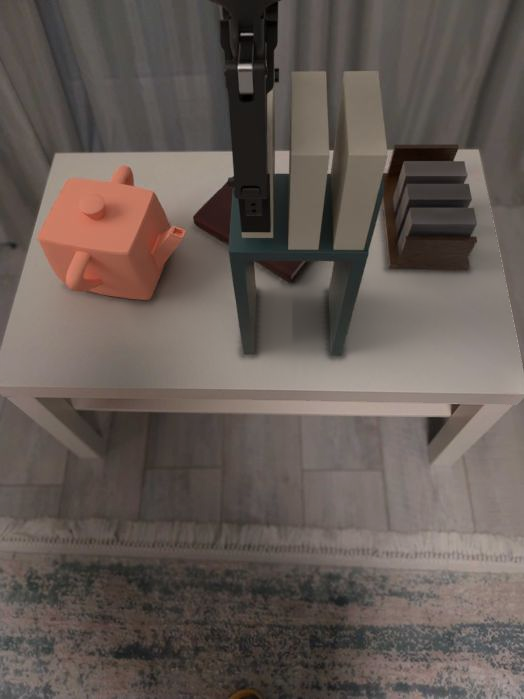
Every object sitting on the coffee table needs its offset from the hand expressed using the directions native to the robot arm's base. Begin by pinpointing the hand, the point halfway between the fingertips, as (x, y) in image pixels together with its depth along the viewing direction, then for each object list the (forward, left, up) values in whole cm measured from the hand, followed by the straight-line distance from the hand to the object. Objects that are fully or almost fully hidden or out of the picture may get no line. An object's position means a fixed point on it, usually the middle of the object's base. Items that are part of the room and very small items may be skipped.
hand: (258, 185), depth 48 cm
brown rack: (+9, -30, -28) cm, 42 cm away
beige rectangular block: (0, 0, -2) cm, 2 cm away
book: (+16, -5, -28) cm, 33 cm away
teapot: (+16, +16, -28) cm, 36 cm away
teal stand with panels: (-1, -4, -28) cm, 28 cm away
